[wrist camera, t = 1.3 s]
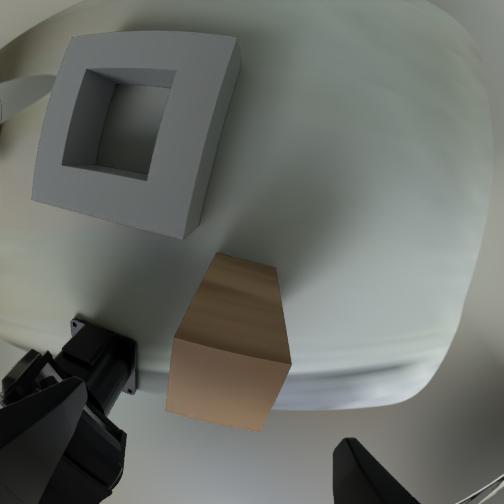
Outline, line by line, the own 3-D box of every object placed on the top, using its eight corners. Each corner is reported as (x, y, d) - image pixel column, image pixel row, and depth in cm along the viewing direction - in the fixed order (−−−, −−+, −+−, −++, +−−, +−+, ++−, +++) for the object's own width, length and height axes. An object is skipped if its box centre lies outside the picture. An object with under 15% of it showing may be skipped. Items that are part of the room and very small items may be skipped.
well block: (198, 225, 18) (182, 239, 14) (65, 193, 17) (31, 200, 13) (241, 64, 15) (237, 37, 11) (99, 54, 14) (71, 37, 10)
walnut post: (259, 319, 19) (259, 431, 10) (204, 306, 19) (165, 411, 10) (275, 268, 18) (291, 364, 9) (216, 253, 18) (173, 337, 9)
